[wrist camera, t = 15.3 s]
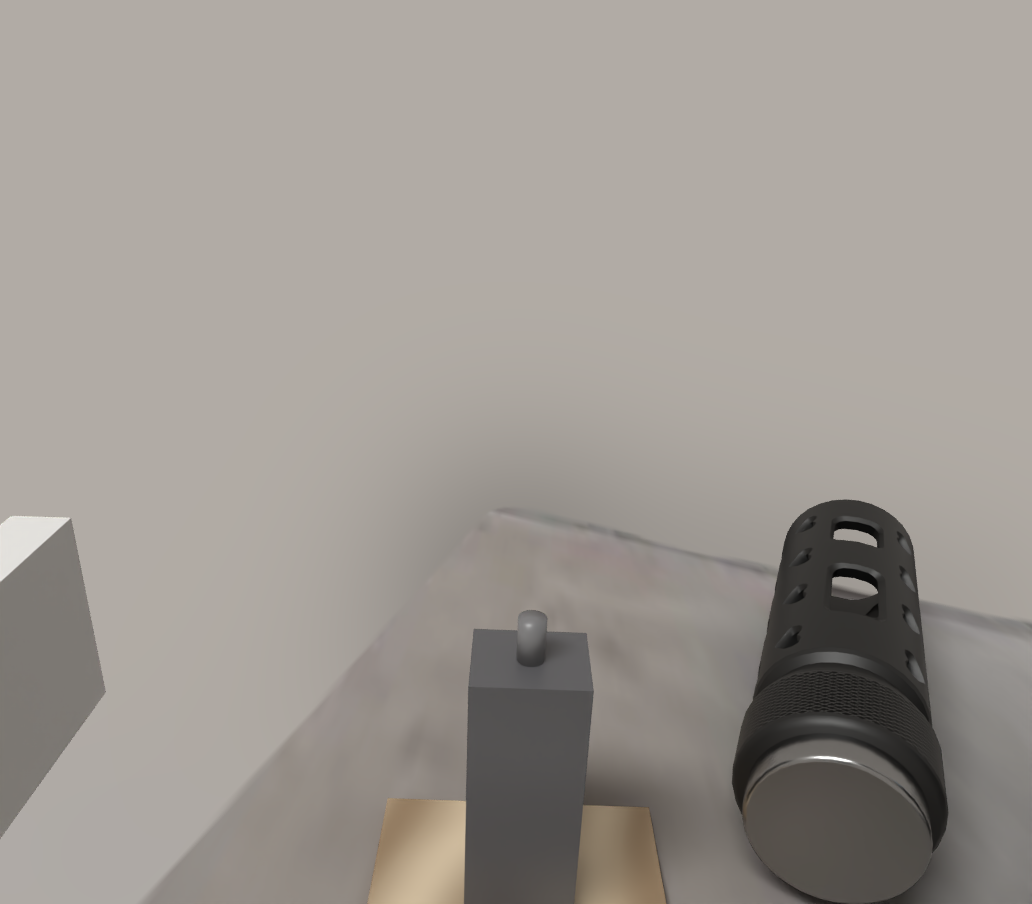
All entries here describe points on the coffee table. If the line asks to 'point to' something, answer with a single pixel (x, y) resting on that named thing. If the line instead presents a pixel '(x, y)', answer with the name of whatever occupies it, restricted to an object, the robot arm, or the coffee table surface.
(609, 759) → the coffee table surface
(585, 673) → the grey rectangular pillar
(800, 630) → the muzzle brake
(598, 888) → the wooden board
